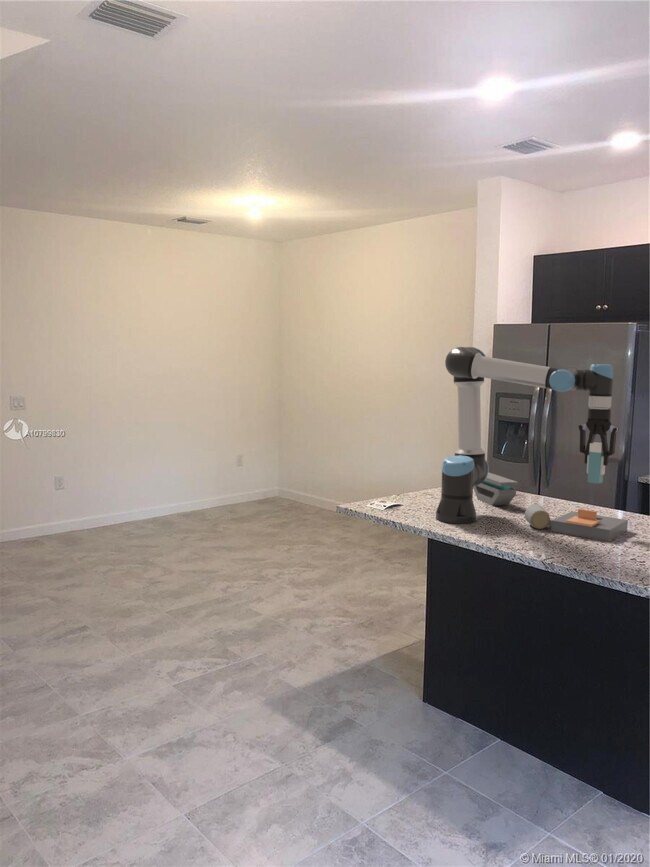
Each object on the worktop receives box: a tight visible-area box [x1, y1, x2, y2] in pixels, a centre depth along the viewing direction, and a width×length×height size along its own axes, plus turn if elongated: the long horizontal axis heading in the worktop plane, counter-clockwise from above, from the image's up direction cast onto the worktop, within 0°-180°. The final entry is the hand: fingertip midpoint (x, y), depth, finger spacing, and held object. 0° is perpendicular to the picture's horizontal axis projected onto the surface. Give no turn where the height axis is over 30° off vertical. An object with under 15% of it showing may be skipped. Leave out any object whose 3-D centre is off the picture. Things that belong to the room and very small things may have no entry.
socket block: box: [550, 510, 629, 542], centre depth 248 cm, size 20×20×4 cm
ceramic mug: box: [524, 504, 552, 530], centre depth 252 cm, size 11×8×8 cm
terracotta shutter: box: [566, 508, 601, 527], centre depth 243 cm, size 9×9×4 cm
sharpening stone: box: [473, 471, 519, 506], centre depth 295 cm, size 25×8×11 cm, turn 16°
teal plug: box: [587, 441, 604, 485], centre depth 248 cm, size 4×4×14 cm
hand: (595, 473), depth 248 cm, fingers closed on teal plug, 4 cm apart
